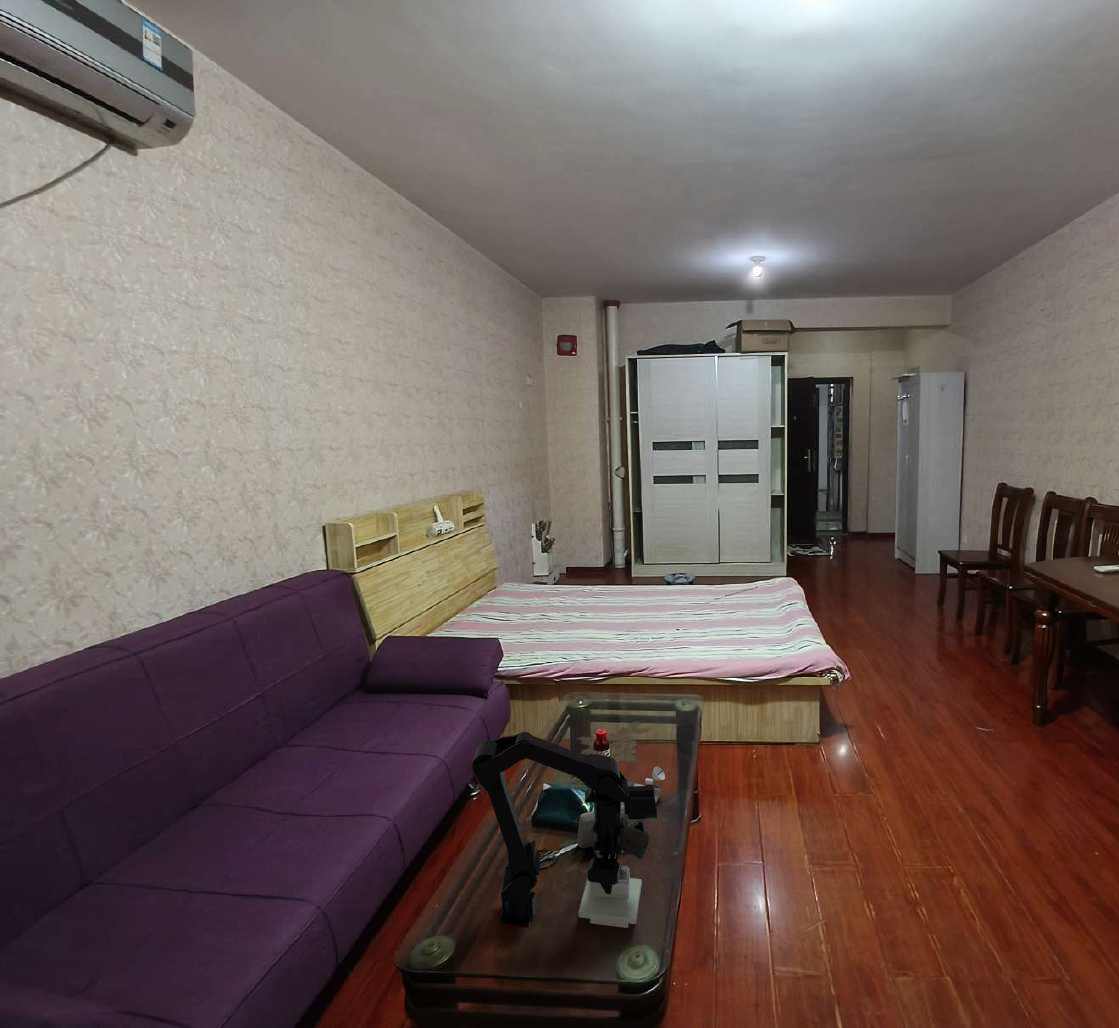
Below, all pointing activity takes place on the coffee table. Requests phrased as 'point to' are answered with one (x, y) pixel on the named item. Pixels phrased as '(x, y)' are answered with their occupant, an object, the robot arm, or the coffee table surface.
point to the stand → (611, 906)
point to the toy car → (652, 782)
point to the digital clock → (586, 829)
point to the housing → (615, 886)
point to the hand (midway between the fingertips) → (610, 884)
